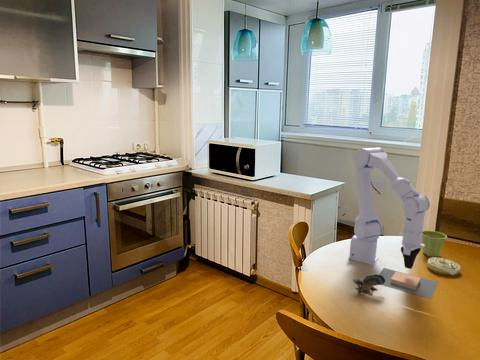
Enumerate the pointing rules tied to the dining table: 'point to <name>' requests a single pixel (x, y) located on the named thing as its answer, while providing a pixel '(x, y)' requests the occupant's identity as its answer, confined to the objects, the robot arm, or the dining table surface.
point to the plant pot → (433, 242)
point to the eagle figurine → (369, 283)
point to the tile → (405, 280)
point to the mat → (423, 289)
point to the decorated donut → (443, 266)
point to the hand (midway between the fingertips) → (408, 267)
